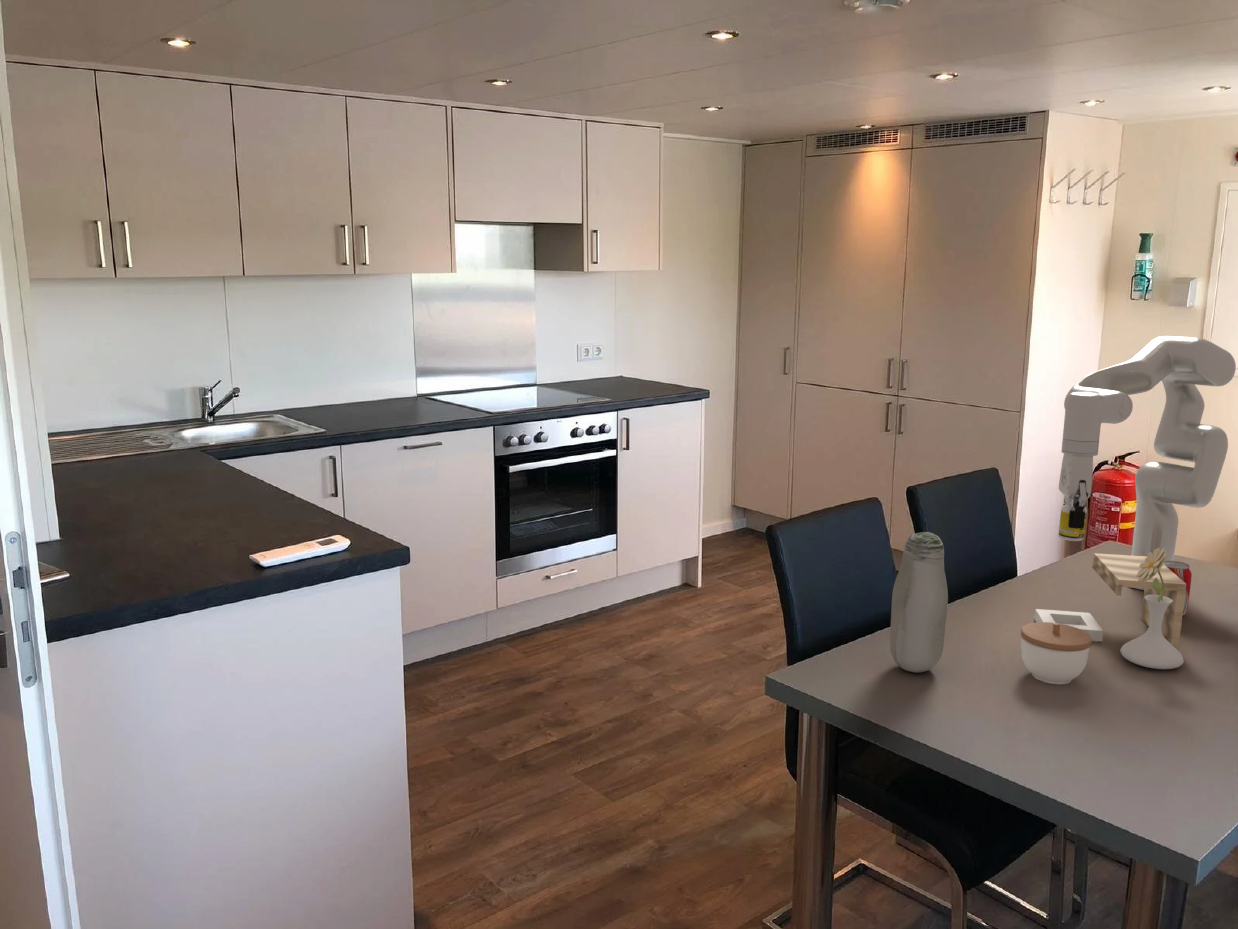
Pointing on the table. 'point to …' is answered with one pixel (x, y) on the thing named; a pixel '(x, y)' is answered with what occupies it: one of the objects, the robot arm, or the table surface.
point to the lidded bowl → (1054, 651)
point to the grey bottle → (919, 604)
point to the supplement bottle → (1064, 530)
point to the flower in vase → (1153, 623)
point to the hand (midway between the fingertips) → (1072, 523)
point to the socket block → (1072, 621)
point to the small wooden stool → (1123, 574)
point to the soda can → (1181, 577)
